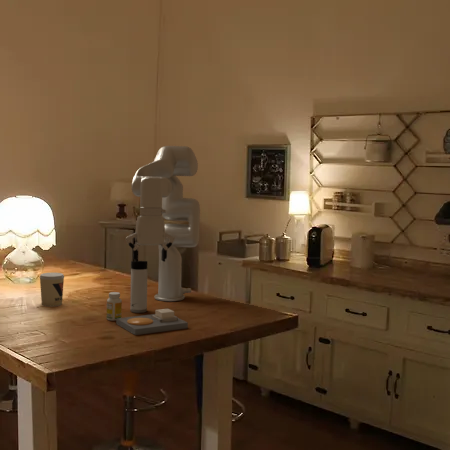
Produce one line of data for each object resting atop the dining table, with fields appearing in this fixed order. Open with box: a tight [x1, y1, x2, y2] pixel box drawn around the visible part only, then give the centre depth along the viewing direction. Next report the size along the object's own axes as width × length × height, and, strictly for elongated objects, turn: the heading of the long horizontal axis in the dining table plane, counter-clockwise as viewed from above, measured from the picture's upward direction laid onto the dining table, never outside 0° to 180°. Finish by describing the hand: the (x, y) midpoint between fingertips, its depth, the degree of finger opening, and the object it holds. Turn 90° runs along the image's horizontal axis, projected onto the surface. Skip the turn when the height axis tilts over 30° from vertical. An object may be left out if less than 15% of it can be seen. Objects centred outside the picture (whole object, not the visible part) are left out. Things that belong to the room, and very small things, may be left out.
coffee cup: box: [39, 272, 65, 308], centre depth 256 cm, size 9×9×12 cm
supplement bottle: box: [106, 291, 123, 321], centre depth 236 cm, size 5×5×10 cm
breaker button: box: [154, 308, 175, 319], centre depth 231 cm, size 5×5×3 cm
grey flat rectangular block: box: [116, 313, 189, 336], centre depth 228 cm, size 20×16×3 cm
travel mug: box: [129, 260, 148, 314], centre depth 249 cm, size 6×7×20 cm
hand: (149, 261), depth 228 cm, fingers open, 9 cm apart
